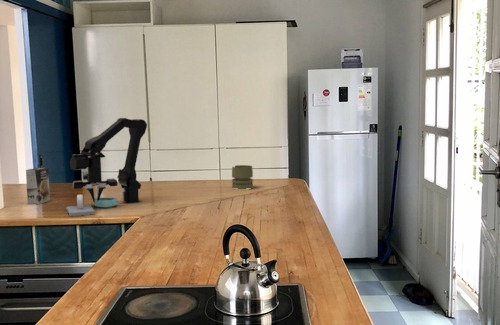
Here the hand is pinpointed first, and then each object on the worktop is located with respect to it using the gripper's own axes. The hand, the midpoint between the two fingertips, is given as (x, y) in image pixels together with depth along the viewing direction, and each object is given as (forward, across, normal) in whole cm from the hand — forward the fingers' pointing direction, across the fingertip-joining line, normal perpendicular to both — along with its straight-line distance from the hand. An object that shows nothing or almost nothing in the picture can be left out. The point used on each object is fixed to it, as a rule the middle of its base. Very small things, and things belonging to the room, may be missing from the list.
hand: (95, 202), depth 234 cm
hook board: (+2, +8, +8) cm, 11 cm away
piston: (+2, -80, -19) cm, 83 cm away
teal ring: (+1, -4, 0) cm, 4 cm away
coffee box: (+2, +23, -25) cm, 34 cm away
